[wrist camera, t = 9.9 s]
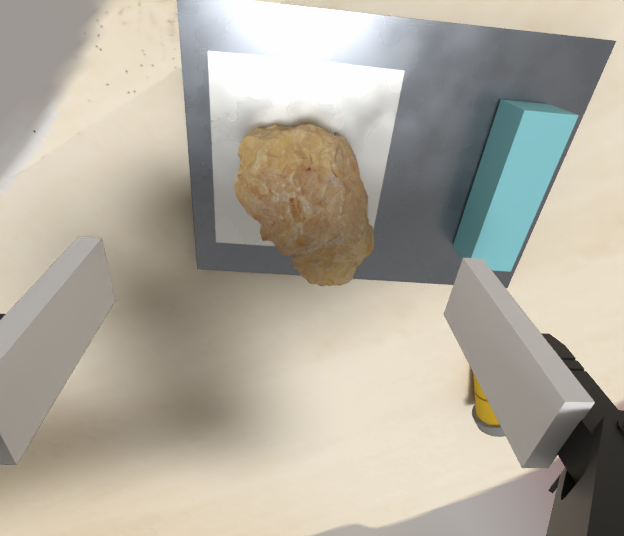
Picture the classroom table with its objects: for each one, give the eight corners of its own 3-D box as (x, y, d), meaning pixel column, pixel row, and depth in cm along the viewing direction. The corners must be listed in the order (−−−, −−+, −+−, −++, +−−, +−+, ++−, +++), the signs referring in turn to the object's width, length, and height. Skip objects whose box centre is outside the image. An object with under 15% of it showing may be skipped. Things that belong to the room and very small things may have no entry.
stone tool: (206, 161, 19) (380, 276, 19) (284, 71, 21) (437, 174, 22) (208, 232, 27) (329, 311, 28) (264, 161, 30) (374, 234, 30)
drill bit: (490, 465, 37) (443, 376, 35) (486, 425, 41) (445, 345, 40) (553, 456, 34) (506, 360, 33) (541, 414, 39) (500, 328, 37)
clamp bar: (452, 246, 29) (467, 268, 26) (500, 99, 23) (524, 110, 21) (492, 248, 29) (510, 271, 27) (549, 104, 24) (578, 115, 21)
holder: (200, 261, 30) (196, 270, 29) (181, -7, 21) (175, -8, 20) (501, 280, 32) (508, 289, 31) (604, 39, 23) (618, 41, 22)
